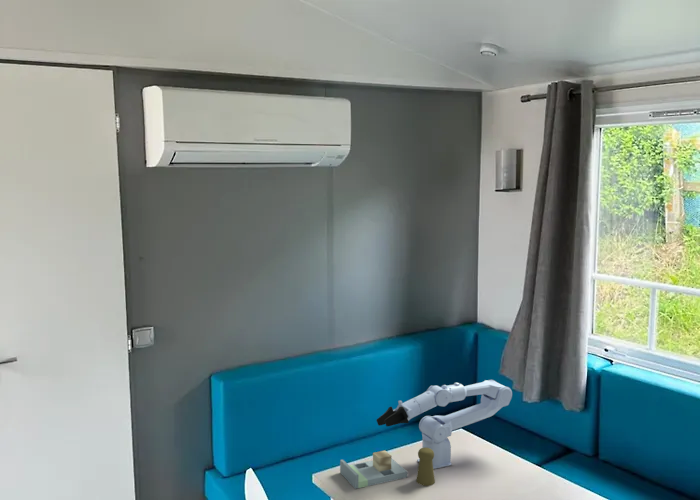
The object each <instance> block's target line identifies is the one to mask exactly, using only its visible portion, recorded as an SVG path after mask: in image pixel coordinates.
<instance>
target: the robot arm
mask: <svg viewBox="0 0 700 500" xmlns="http://www.w3.org/2000/svg"><path fill="white" fill-rule="evenodd" d="M478 395H481V396H480V397H481V398H480V403H477V404H475V405H472V406H469V407H466V408H463V409H460V410H458V411H454V412H452V413H449V414H446V415H436V414H435V415H433V416H431V415H425V416H424V417H422V418H421V419H420V421H419V424H418V428H419V431H420V432H421V435H422V447H421V448H430V449H432V450H433V452H434V458H433V459H432V462H433V470H436V469H439V468H444V467H449V466H452V462H451V459H452V458H451V457H452V456H451V455H452V454H451V452H452V449H451V448H452V446H451V441H450V440H449V437H451V436H452V434H453V433H452V431H455V430H458V429H461V428H462V427H465V426H469V425H471V424H475V423H477V422H480V421H483V420H485V419H487V418H490V417H492V416H494V415H496V413H497V412H498V411H500V410H501V409H502V408H503V407H504V408H505V407H507V406H509V405H510V402H511V400H512V399H513V391H512V389H511V387H509V386H505V385H503V384H501V383H499V382H497V381H496V380H494V379H488V380H486V379H484V381H482V382H476V383H473V384H468V385H465V386H464V385H463V384H462V383H460V382H454V383H453V384H449V385H446V384H442V385H441V386H439V385H430V386H429V387H428V388H427V389H426V391H424V392H423V393H421V394H419V395H417V396H415V397H413V398H410V399H408V400H406V401H404V402H403V401H402V400H398V401H397V402H398V404H397V407H396V408H393V406H389V407H388V408H387V409H386V411H385V412H384V413H382V415H380V416H379V417H378V418H376V419H375V420H376V423H377V425H378V426H383V425H385V426H386V427H391V426H394V425H395V426H396V425H399V424H409V421H410V420H411V419H413V418H415V417H418V416H419V415H421V414H423V413H424V412H427V411H429V410H431V409H433V408H435V407H437V406H439V407H446V406H447V405H448V404H450V403H453V402H459V401H460V402H461V401H464V400H465V399H466V397H471V396H478ZM419 460H420V459H419V458H418V459H416V461H417V462H418V463H419Z"/></svg>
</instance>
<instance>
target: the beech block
mask: <svg viewBox="0 0 700 500" xmlns="http://www.w3.org/2000/svg"><path fill="white" fill-rule="evenodd" d="M391 458H392V455H391V454H390V453H389V452H388V451H386V450H380V451H377V452H376V451H375V452H373V453H372V460H373V467H375V468H376V469H377V470H378V471H379V472H380V471H385V470H389V469H391Z"/></svg>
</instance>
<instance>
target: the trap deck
mask: <svg viewBox="0 0 700 500" xmlns="http://www.w3.org/2000/svg"><path fill="white" fill-rule="evenodd" d="M339 461H340V462H339V467H340V469H339V471H340V472H339V473H340V475H342V476H343V478H344V479H346V481H348V483H349V484H350V485H351V486H352V487H353V488H354V489H356V488H357V489H360V488H365V487H370V486H374V485H378V484H383V483H387V482H391V481H396V480H401V479H405V478H408V470H406V469H405V468H404V467H403V466H401V465H400V464H399V463H398V462H397V461H395V459H393V458H392V457H391V469H389V470H385V471H380V472H379V471H378V470H377V469H376V468H375V467H373V459H372V460H368V461H363V462H358V463H354V464H348V463H347V462H346V461H345V459H340V460H339ZM357 489H356V490H357Z"/></svg>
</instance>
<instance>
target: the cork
mask: <svg viewBox="0 0 700 500" xmlns="http://www.w3.org/2000/svg"><path fill="white" fill-rule="evenodd" d="M417 456H418V459H420V460H419V462H418V465H417V466H418V467H417V474H416V480H415V482H416V483H417V484H418V485H420V486H423V487H430V486H433V485H435V483H436V479H435V469H433V462H432V459H433V458H434V452H433V450H432V449H430V448H422V447H421V448H419V450H418V452H417Z"/></svg>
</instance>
